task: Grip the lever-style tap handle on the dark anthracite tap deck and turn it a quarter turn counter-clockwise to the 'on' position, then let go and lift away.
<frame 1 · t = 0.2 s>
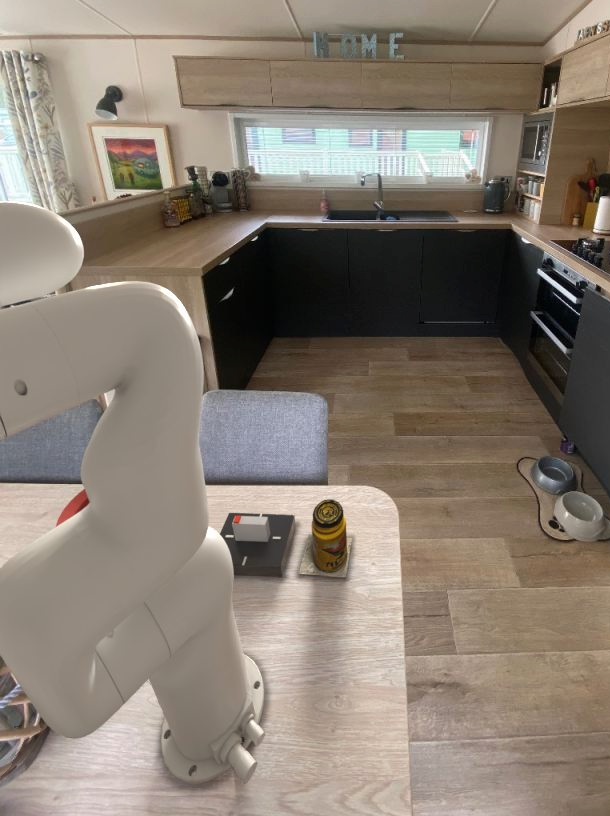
hand: (16, 404, 63), 31 cm above the table, tool pointing down, fingers open, 9 cm apart
condiment: (326, 556, 72), on the table
tap deck: (255, 548, 73), on the table
tap handle: (251, 528, 71), point 5 cm above the table, hinge at 0.0°
citrus juicer: (137, 577, 68), on the table
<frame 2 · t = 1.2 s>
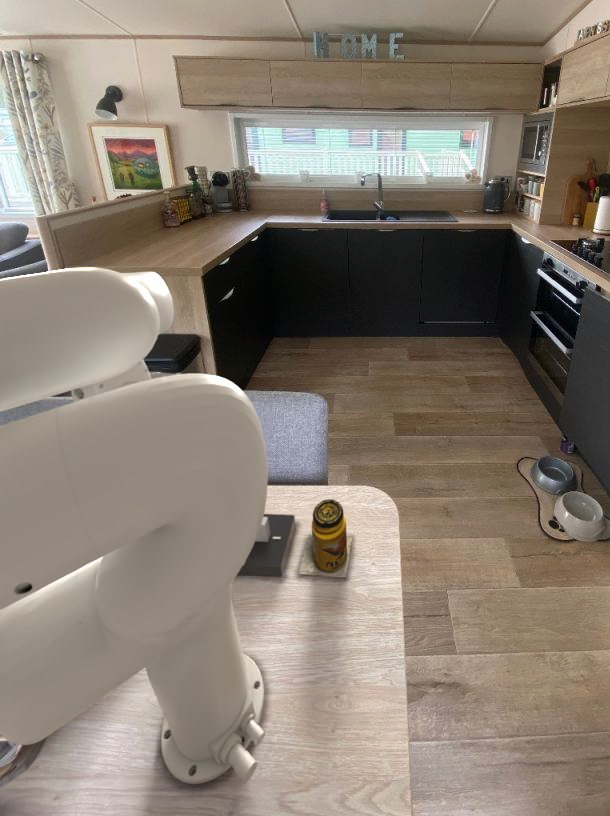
hand: (129, 442, 64), 24 cm above the table, tool pointing down, fingers open, 9 cm apart
nothing on the table moved.
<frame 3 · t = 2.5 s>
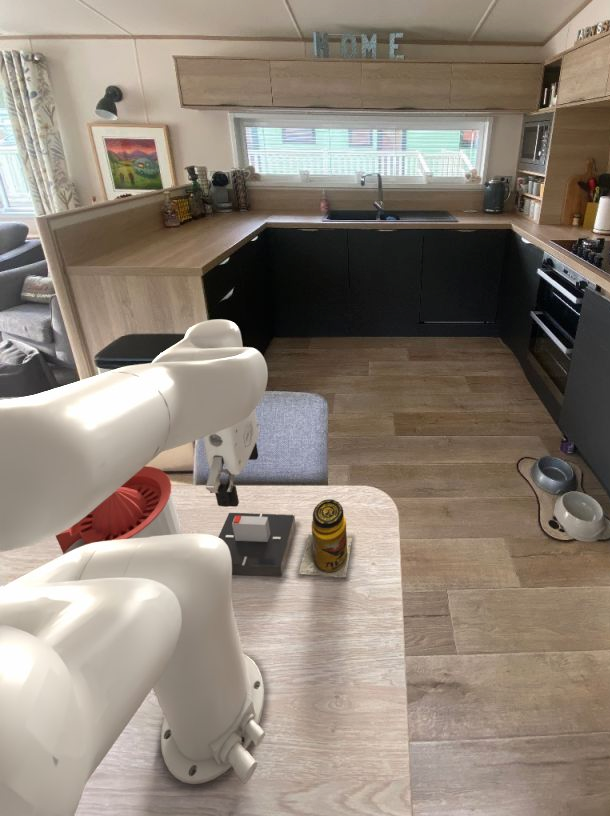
hand: (239, 480, 66), 17 cm above the table, tool pointing down, fingers open, 9 cm apart
nothing on the table moved.
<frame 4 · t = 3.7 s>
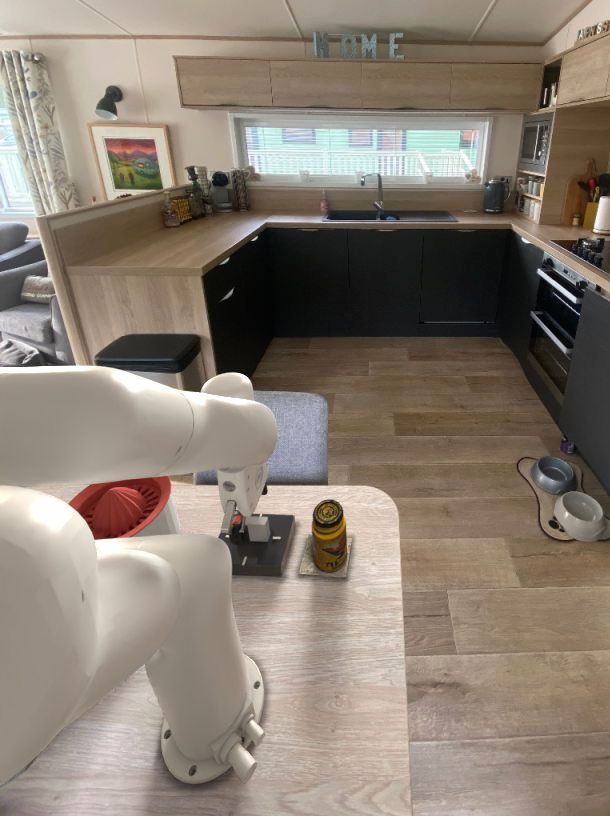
hand: (250, 516, 70), 8 cm above the table, tool pointing down, fingers open, 9 cm apart
nothing on the table moved.
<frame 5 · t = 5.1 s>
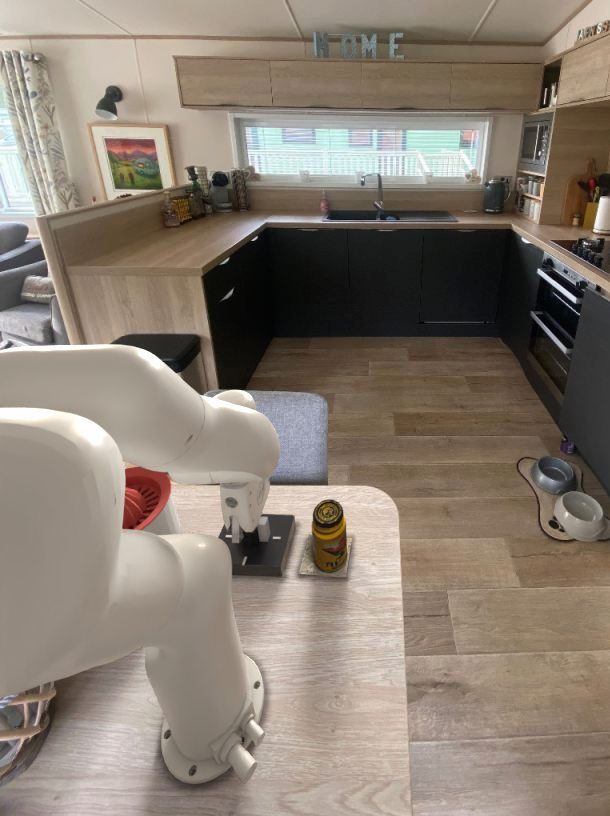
hand: (252, 536, 72), 3 cm above the table, tool pointing down, fingers closed on tap handle
tap handle: (251, 528, 71), point 5 cm above the table, hinge at 0.0°, touching gripper
everything else where it was.
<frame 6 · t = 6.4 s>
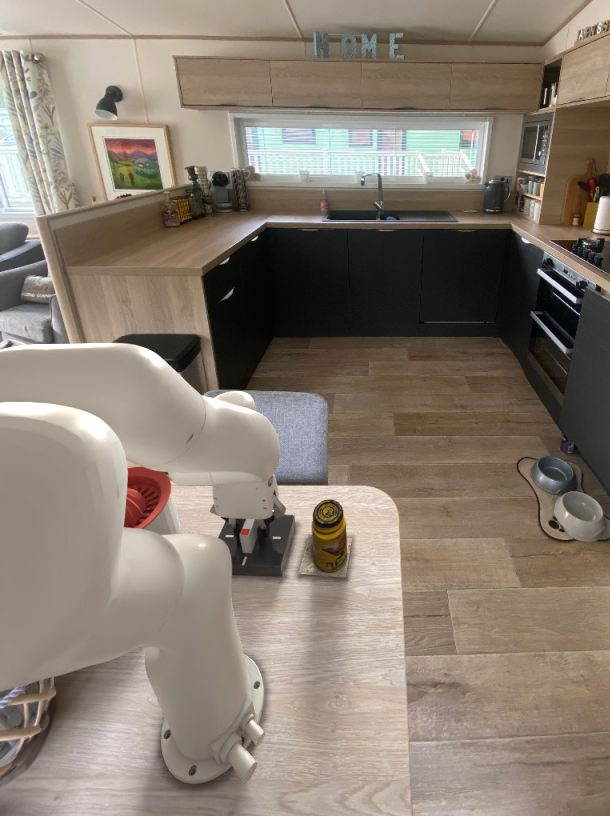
hand: (253, 536, 72), 3 cm above the table, tool pointing down, fingers open, 3 cm apart
tap handle: (251, 528, 71), point 5 cm above the table, hinge at 89.5°
everything else where it was.
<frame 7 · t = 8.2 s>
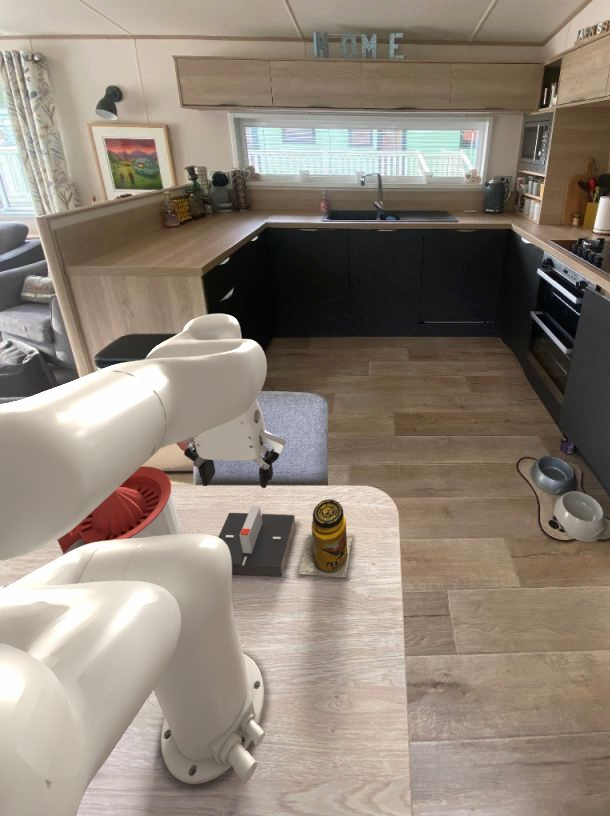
hand: (237, 480, 65), 18 cm above the table, tool pointing down, fingers open, 9 cm apart
nothing on the table moved.
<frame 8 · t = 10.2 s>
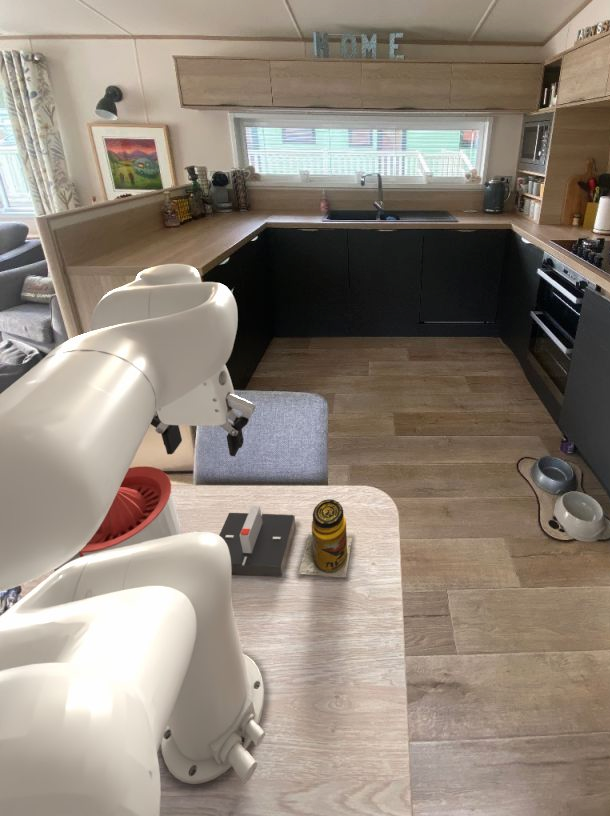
hand: (205, 448, 61), 26 cm above the table, tool pointing down, fingers open, 9 cm apart
nothing on the table moved.
at the end: tap handle at +90° (first picture: +0°) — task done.
